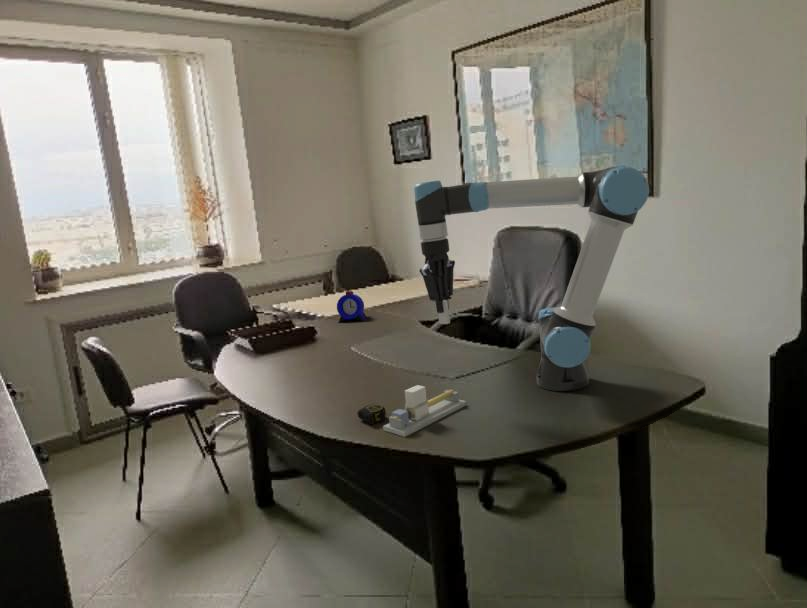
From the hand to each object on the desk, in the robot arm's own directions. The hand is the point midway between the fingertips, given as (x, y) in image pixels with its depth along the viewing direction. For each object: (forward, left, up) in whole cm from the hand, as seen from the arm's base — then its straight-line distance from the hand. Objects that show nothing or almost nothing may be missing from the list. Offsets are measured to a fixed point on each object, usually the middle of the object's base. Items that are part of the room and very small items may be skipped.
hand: (444, 323), depth 170 cm
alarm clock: (+117, -63, -24) cm, 135 cm away
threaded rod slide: (0, +11, -24) cm, 26 cm away
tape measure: (+11, +21, -24) cm, 34 cm away
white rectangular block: (0, +14, -23) cm, 27 cm away
